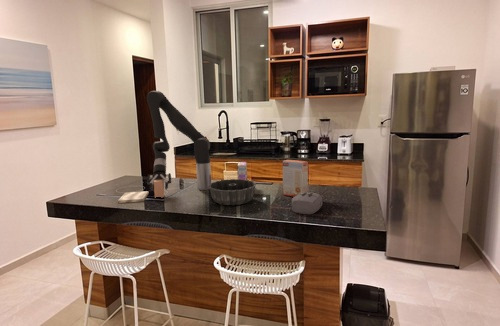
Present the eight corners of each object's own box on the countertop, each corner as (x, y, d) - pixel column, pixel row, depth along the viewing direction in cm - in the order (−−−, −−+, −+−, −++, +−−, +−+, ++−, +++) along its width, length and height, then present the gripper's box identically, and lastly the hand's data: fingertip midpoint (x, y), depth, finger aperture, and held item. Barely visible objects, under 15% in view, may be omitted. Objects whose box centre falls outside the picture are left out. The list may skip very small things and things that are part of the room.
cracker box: (308, 196, 185) (308, 161, 181) (302, 198, 181) (302, 162, 177) (288, 192, 194) (288, 159, 191) (282, 194, 190) (282, 160, 187)
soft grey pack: (317, 216, 151) (326, 204, 169) (317, 199, 150) (327, 189, 168) (287, 212, 158) (299, 201, 176) (287, 196, 157) (299, 187, 174)
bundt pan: (246, 210, 163) (246, 191, 161) (201, 206, 172) (200, 188, 170) (262, 196, 187) (262, 180, 186) (221, 193, 196) (221, 178, 195)
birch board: (148, 193, 201) (148, 191, 201) (143, 201, 183) (143, 198, 183) (125, 194, 199) (125, 192, 199) (118, 203, 181) (117, 200, 181)
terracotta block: (164, 195, 196) (163, 179, 194) (163, 197, 191) (162, 181, 189) (156, 195, 195) (154, 179, 194) (154, 197, 190) (153, 181, 189)
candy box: (246, 190, 202) (246, 165, 199) (237, 190, 202) (236, 165, 200) (247, 185, 216) (246, 161, 213) (238, 185, 216) (238, 161, 213)
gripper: (147, 164, 197) (145, 186, 187) (170, 163, 198) (170, 185, 189) (149, 171, 203) (147, 193, 193) (172, 170, 205) (171, 191, 195)
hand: (158, 189), depth 191 cm, fingers open, 8 cm apart
